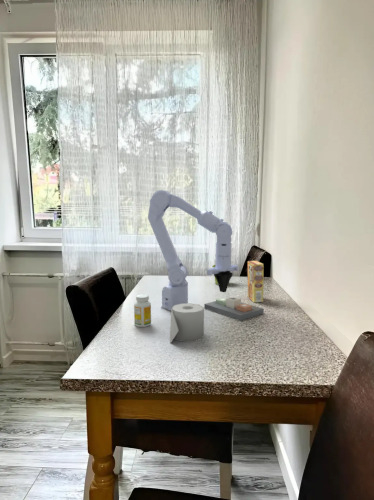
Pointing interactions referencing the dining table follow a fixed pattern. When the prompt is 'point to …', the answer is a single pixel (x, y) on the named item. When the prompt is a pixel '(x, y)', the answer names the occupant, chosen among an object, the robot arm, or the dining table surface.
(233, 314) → the keypad
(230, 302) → the key ivory
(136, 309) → the supplement bottle
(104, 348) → the dining table surface
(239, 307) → the key peach
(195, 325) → the toilet tissue
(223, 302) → the key sage
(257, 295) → the candy box
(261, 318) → the dining table surface
